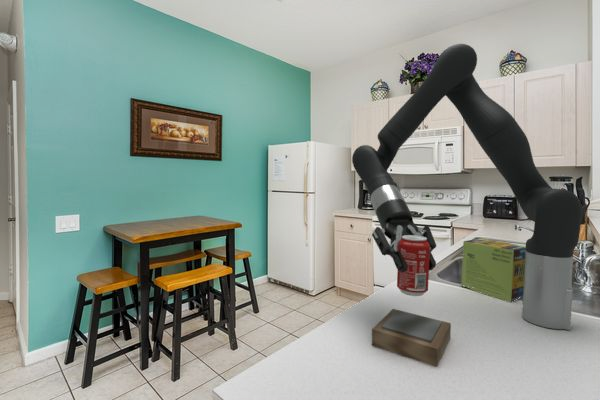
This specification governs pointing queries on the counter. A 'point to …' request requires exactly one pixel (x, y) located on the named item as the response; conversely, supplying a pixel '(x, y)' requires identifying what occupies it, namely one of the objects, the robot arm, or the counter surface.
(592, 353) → the counter surface
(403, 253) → the beverage can
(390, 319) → the walnut plinth
